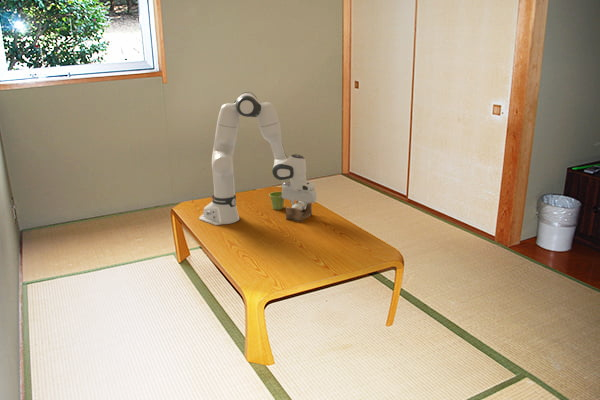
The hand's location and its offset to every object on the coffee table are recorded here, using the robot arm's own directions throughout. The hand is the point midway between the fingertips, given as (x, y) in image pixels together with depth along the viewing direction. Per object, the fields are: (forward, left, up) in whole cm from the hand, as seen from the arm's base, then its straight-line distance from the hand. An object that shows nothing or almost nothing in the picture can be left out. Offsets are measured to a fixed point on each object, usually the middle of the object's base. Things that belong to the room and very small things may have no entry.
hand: (299, 208), depth 291 cm
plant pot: (-18, +7, -5) cm, 20 cm away
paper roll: (0, 0, -2) cm, 2 cm away
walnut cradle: (0, 0, -5) cm, 5 cm away
